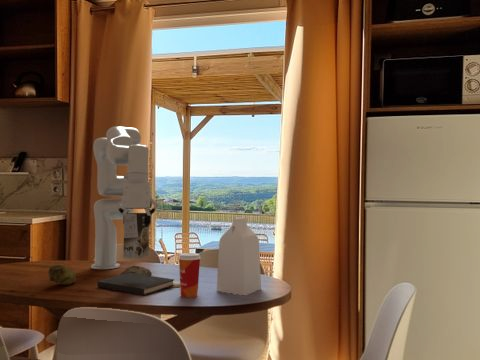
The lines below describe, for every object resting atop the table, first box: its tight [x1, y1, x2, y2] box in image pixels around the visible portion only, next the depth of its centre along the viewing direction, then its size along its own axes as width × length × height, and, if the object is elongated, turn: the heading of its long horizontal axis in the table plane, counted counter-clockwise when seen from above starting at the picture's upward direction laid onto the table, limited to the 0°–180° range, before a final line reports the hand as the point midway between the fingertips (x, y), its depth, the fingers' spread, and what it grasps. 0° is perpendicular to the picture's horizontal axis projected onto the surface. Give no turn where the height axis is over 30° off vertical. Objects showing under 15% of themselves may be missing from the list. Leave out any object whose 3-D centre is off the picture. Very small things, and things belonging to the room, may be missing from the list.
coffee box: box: [122, 212, 150, 259], centre depth 156 cm, size 9×6×16 cm
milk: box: [216, 217, 262, 296], centre depth 153 cm, size 12×12×26 cm
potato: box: [47, 264, 77, 286], centre depth 158 cm, size 8×13×8 cm, turn 153°
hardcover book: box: [96, 273, 175, 296], centre depth 155 cm, size 16×23×2 cm
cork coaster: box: [170, 281, 180, 289], centre depth 159 cm, size 8×8×1 cm
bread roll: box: [119, 265, 153, 276], centre depth 174 cm, size 13×12×5 cm
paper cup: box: [177, 252, 202, 299], centre depth 143 cm, size 8×8×14 cm
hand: (137, 225), depth 156 cm, fingers closed on coffee box, 7 cm apart
